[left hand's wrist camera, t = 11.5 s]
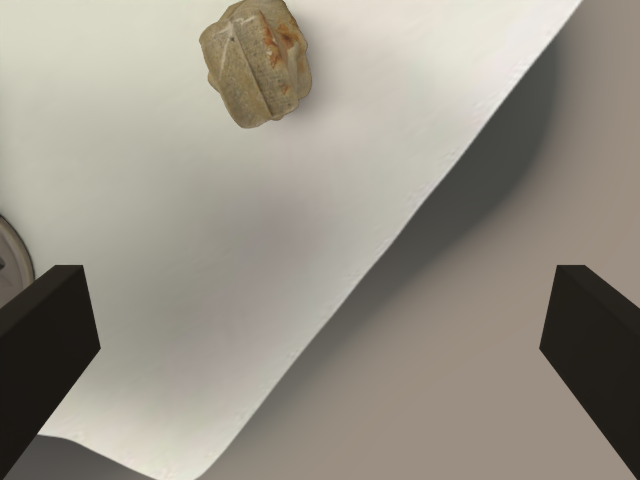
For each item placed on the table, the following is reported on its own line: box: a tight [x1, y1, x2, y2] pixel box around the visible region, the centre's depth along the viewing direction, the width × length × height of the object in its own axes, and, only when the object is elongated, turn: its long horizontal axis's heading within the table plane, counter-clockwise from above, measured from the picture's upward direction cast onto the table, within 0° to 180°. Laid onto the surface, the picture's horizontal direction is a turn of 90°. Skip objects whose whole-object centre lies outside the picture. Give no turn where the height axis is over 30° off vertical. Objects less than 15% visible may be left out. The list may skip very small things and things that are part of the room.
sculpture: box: [199, 0, 312, 128], centre depth 27 cm, size 6×7×15 cm
